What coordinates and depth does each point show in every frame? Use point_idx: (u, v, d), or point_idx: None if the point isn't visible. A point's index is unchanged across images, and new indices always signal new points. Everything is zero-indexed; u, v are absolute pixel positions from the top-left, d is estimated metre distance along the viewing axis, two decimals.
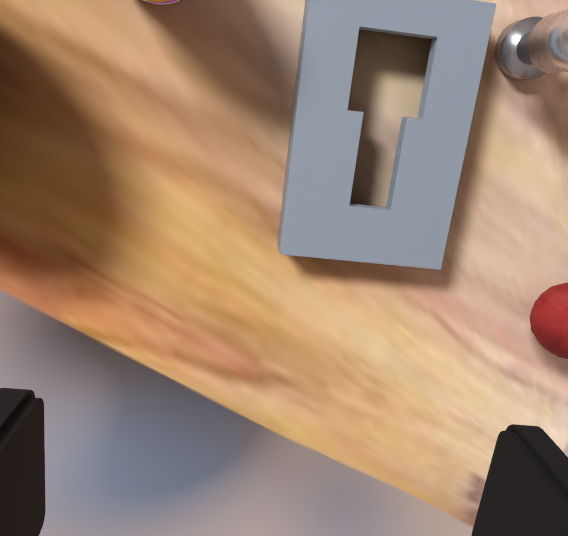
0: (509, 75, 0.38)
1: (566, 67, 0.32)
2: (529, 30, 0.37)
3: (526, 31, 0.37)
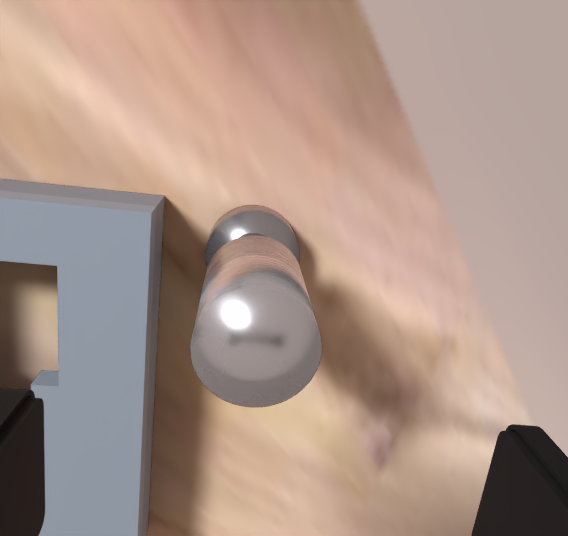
0: None
1: None
2: (244, 232, 0.22)
3: (239, 234, 0.22)
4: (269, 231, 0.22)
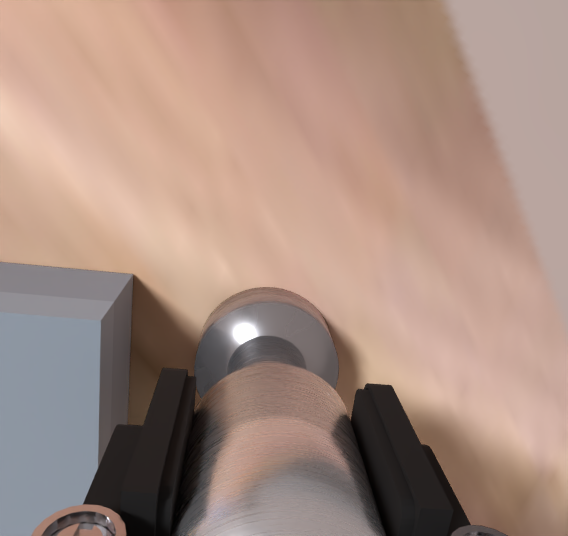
0: None
1: None
2: (254, 335, 0.14)
3: (246, 337, 0.14)
4: (292, 333, 0.14)
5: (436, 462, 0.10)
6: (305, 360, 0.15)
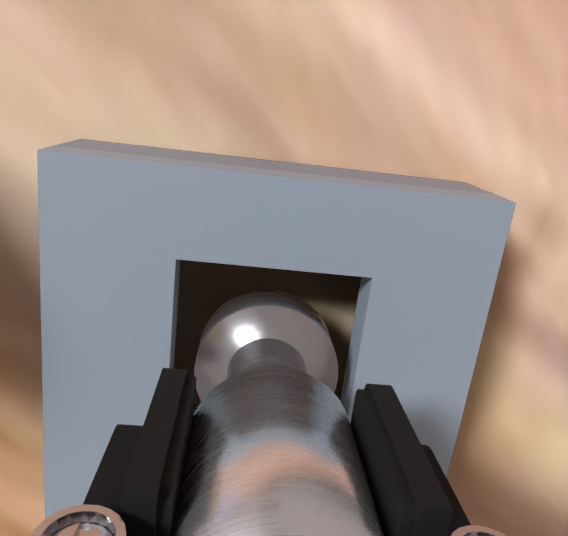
0: None
1: None
2: (253, 338, 0.14)
3: (246, 340, 0.14)
4: (292, 335, 0.14)
5: (436, 462, 0.10)
6: (305, 363, 0.15)
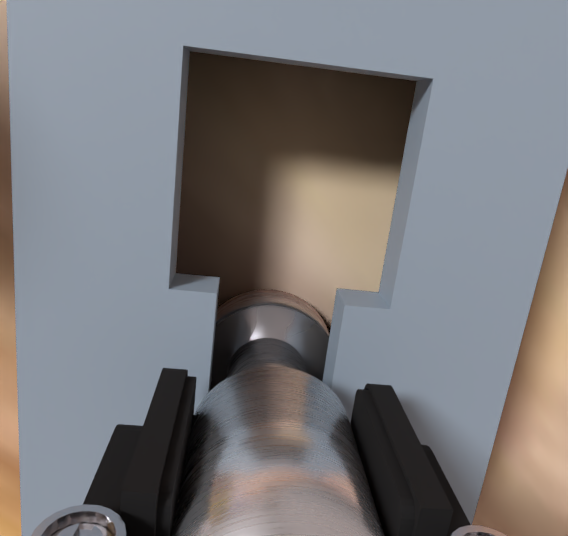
0: None
1: None
2: (253, 337, 0.14)
3: (246, 339, 0.14)
4: (292, 335, 0.14)
5: (436, 462, 0.10)
6: (305, 362, 0.15)
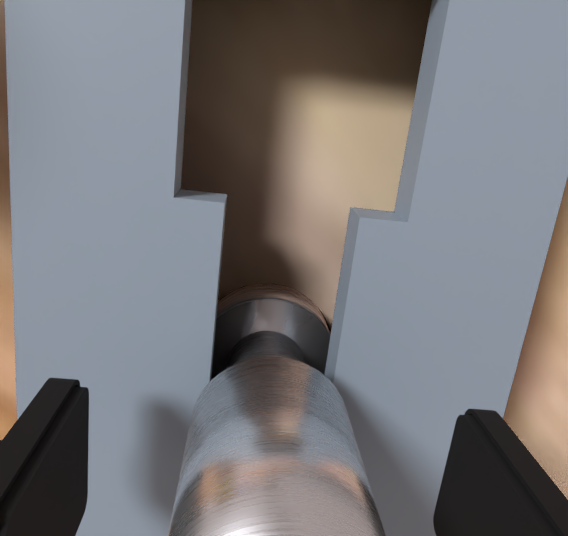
0: None
1: None
2: (253, 330, 0.15)
3: (246, 332, 0.15)
4: (291, 328, 0.15)
5: None
6: (303, 355, 0.15)
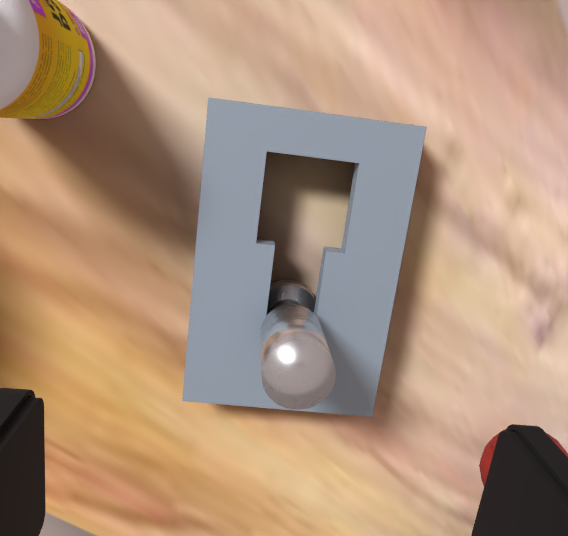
0: None
1: None
2: (282, 298, 0.34)
3: (279, 299, 0.34)
4: (299, 298, 0.34)
5: None
6: None
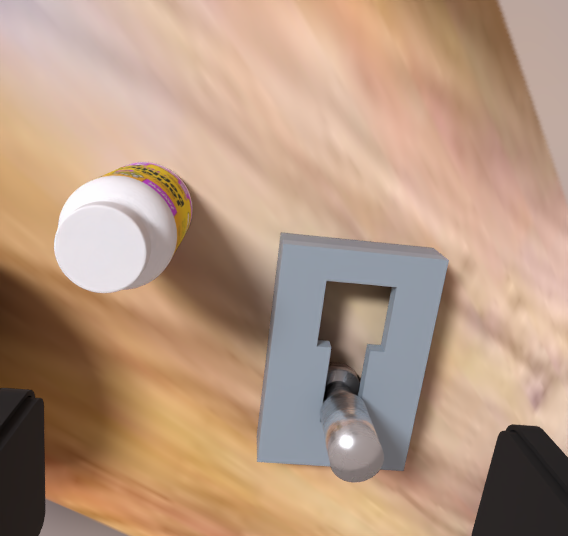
0: None
1: None
2: (333, 380, 0.43)
3: (330, 381, 0.43)
4: (346, 379, 0.43)
5: None
6: (350, 389, 0.43)
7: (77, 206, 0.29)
